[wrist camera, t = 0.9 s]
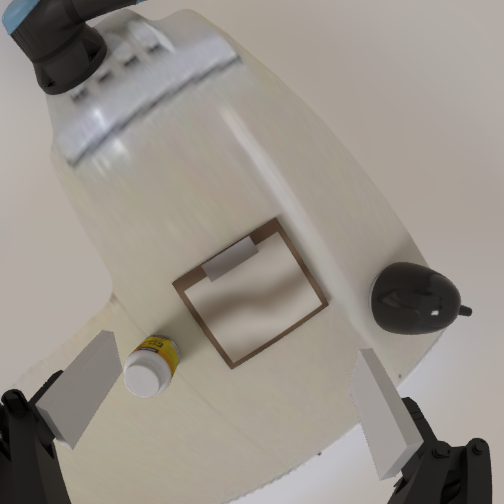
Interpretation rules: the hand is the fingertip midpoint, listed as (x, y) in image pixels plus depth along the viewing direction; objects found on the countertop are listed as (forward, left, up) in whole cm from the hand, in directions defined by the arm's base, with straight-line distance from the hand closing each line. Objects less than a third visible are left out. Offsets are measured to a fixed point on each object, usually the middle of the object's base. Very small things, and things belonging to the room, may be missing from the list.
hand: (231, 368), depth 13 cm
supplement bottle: (+1, -11, -22) cm, 25 cm away
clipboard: (+1, +4, -22) cm, 23 cm away
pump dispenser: (+13, +21, -22) cm, 33 cm away
